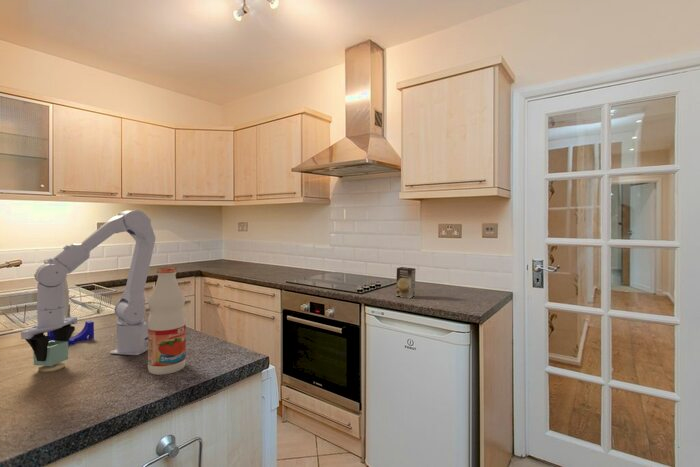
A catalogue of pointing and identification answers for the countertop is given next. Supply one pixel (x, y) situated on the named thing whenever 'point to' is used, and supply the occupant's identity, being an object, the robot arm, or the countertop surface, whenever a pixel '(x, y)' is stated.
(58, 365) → the spindle
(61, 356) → the green hollow cube
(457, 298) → the countertop surface
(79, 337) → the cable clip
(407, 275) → the coffee box
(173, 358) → the fruit juice
